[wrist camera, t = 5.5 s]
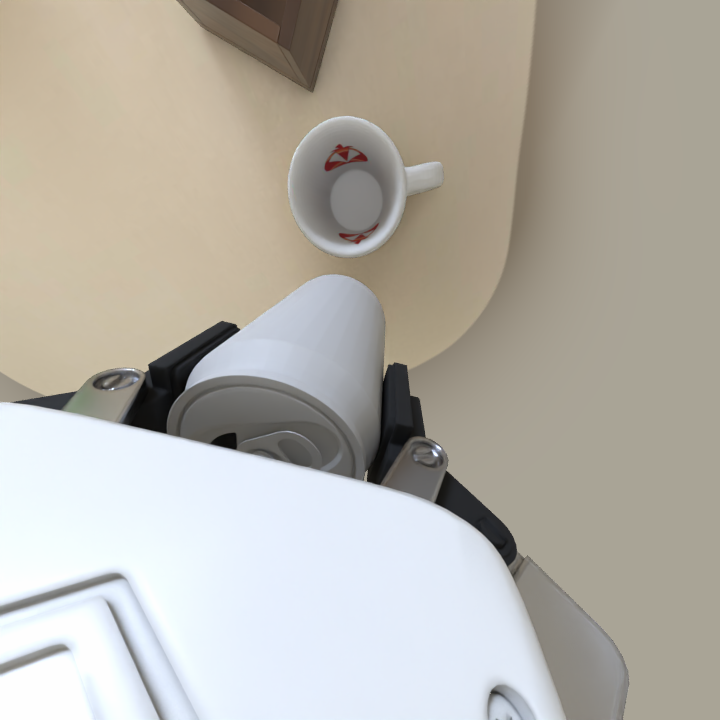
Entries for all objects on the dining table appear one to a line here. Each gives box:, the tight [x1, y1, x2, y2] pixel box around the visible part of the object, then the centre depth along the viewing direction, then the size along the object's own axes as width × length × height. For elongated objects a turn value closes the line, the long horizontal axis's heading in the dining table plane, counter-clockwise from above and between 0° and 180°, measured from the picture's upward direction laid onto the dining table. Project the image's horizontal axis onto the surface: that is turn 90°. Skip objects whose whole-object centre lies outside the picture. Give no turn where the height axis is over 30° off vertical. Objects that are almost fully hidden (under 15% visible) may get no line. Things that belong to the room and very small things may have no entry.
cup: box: [288, 116, 444, 258], centre depth 21 cm, size 11×8×8 cm
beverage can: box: [167, 274, 385, 481], centre depth 13 cm, size 6×6×12 cm
